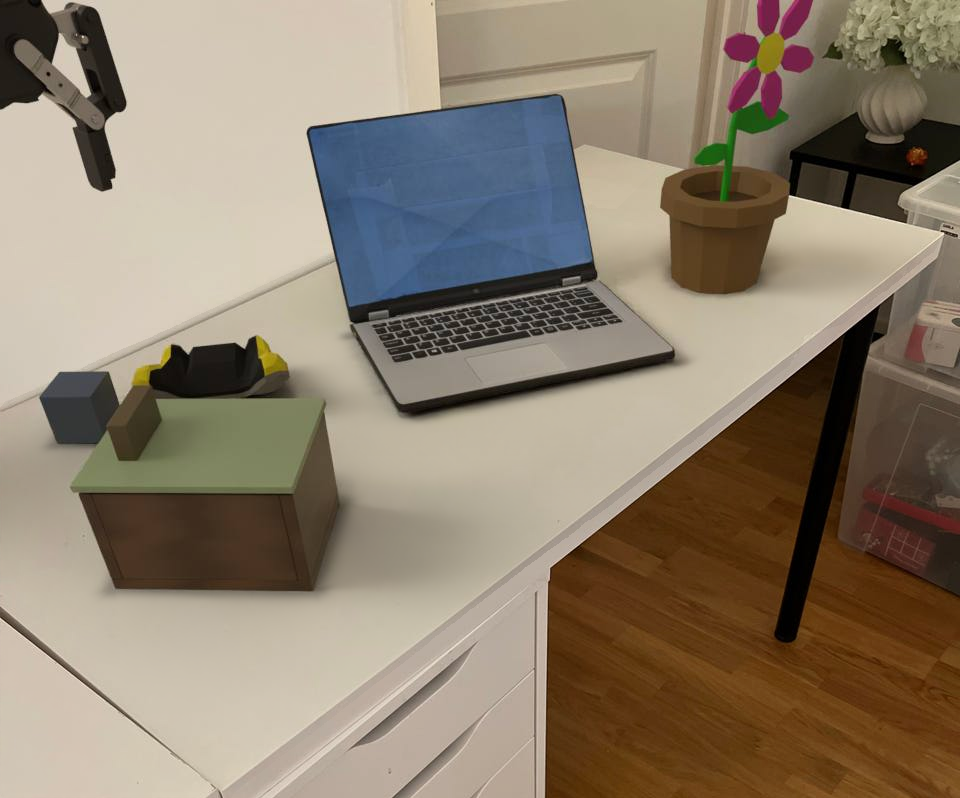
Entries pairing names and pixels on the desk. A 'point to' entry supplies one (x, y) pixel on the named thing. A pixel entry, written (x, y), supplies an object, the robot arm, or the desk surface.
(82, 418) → the block
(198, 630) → the desk surface
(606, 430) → the desk surface
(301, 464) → the cover
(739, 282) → the flowerpot
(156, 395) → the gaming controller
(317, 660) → the desk surface
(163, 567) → the storage box
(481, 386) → the laptop
